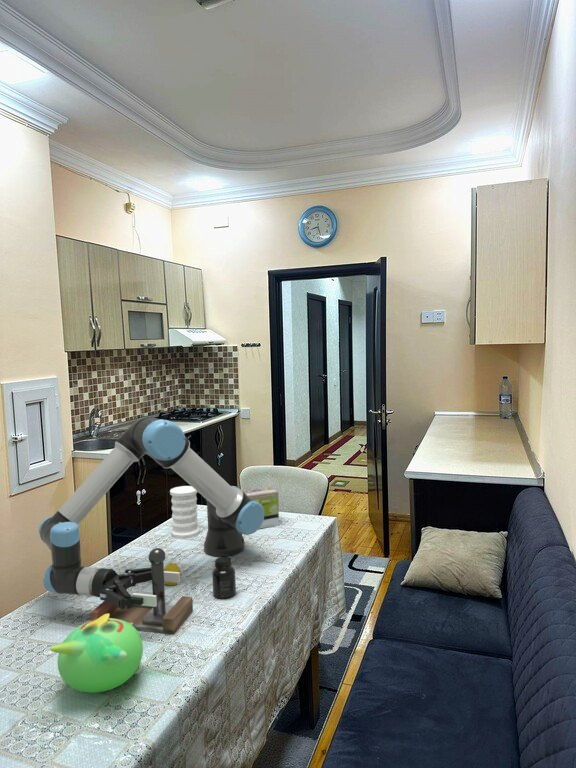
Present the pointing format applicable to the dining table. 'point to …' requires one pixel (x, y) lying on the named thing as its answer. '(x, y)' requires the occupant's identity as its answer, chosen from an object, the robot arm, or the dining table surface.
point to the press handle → (157, 590)
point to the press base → (137, 612)
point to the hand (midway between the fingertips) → (168, 588)
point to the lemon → (172, 568)
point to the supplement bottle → (224, 579)
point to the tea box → (266, 504)
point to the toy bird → (99, 654)
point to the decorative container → (184, 512)
